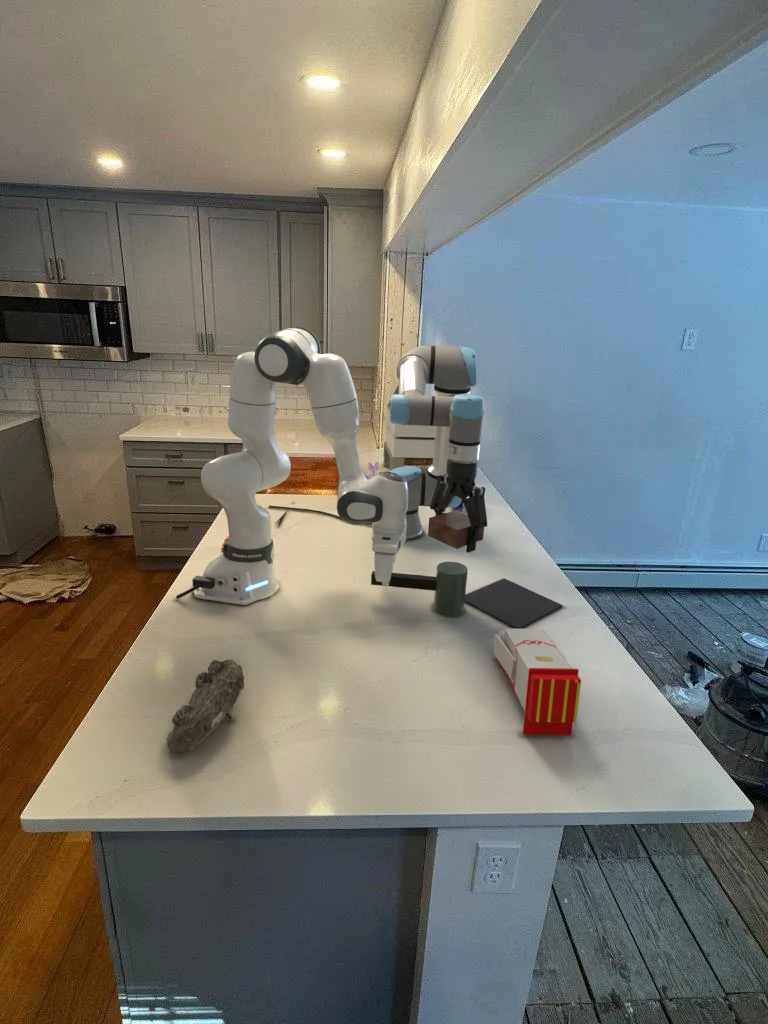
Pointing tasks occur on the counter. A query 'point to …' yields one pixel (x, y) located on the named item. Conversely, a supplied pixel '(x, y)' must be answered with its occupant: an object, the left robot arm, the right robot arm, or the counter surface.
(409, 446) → the white wooden crate
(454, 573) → the green mallet
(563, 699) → the toy
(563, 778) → the counter surface
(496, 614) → the coaster
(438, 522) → the brown square block
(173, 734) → the fossil
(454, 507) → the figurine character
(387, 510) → the left robot arm
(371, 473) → the figurine
